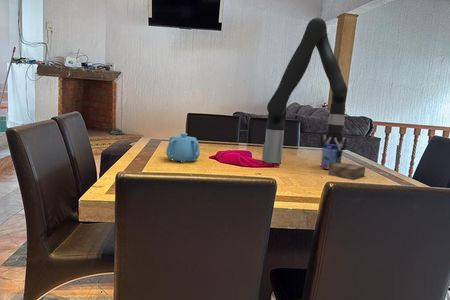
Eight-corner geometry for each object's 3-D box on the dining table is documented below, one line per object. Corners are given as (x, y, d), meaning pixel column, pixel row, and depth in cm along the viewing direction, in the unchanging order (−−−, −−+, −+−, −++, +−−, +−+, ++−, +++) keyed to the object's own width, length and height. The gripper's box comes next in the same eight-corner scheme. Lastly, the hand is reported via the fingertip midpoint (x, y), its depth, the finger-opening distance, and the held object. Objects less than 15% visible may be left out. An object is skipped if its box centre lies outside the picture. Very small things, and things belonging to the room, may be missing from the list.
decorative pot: (198, 164, 184) (199, 136, 182) (164, 162, 183) (165, 134, 181) (199, 158, 200) (201, 132, 198) (168, 156, 199) (169, 130, 197)
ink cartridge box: (329, 169, 189) (332, 140, 187) (320, 167, 193) (323, 138, 191) (341, 168, 195) (344, 139, 193) (331, 166, 199) (334, 138, 197)
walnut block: (328, 175, 179) (329, 164, 179) (339, 172, 188) (340, 162, 187) (353, 180, 171) (354, 169, 171) (364, 177, 180) (365, 166, 180)
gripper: (319, 122, 192) (315, 155, 194) (347, 125, 184) (343, 160, 186) (324, 121, 198) (321, 154, 200) (352, 124, 190) (348, 158, 192)
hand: (332, 156), depth 193 cm, fingers closed on ink cartridge box, 6 cm apart
